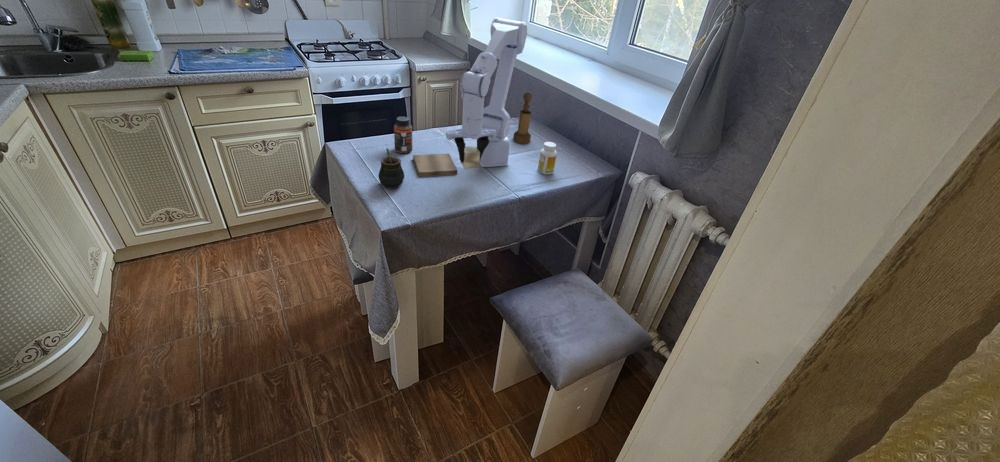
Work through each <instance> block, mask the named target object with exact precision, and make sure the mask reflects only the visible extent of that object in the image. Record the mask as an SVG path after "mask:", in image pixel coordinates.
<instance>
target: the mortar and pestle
mask: <svg viewBox="0 0 1000 462" xmlns="http://www.w3.org/2000/svg"><path fill="white" fill-rule="evenodd" d="M522 98H523V100H524V104H523V109H522V110H520V111H519V118H518V119H519V120H518V125H517V126H518V127H517V130H516V131H515V132H514V133H513V137H512V139H513V141H514V142H516V143H518V144H524V145H525V144H526V145H527V144H529V143H530V142H531V137H532V135H531V134H530V132H529V129H530V128H529V127H530V121H531V117H532V116H531V114H532V112H531V111H529V110H530V107H531V106H530V104H529V103H530V101H531V100H532V98H533V95H532V93H531V92H525V93H524V94H523V97H522Z"/></svg>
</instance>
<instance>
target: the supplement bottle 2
mask: <svg viewBox="0 0 1000 462" xmlns="http://www.w3.org/2000/svg"><path fill="white" fill-rule="evenodd" d="M556 149H557V144H556V143H555V142H552V141H545V142H544V143H543V148H542V149H540V154H539V159H538V165H537V172H539V173H540V174H544V175H551V174H553V173H554V172H555V171H554V170H555V166H556V161H557V156H558V152H557V150H556Z"/></svg>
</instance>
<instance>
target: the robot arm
mask: <svg viewBox="0 0 1000 462" xmlns="http://www.w3.org/2000/svg"><path fill="white" fill-rule="evenodd" d="M527 37H528V25H527V23H526V22H525V21H518V20H512V19H506V18H501V17H498V16H496V17H494V18H493V20H492V22H491V25H490V40H489V43H488V45H487V47H486V50H485V51H483V52H480V53H479V54H478V56H477V57H476V59H475V62H474V63H473V65H472V66H471V67H470V70H469V71H466V72H464V73H463V74H462V76H461V80H460V84H459V89H460V92H461V100H462V101H463V102H462V120H461V121H462V122H461V128H458V129H452V130H446V131H445V137H446V139H447V141H451V140H452V139H453V140H454V143H455V145H456V148H457V151H458V155H459V157H458V158H459V161H460V163H461V162H464V150H465V146H466V143H465V139H471V140H476V147H477V149H478V150H479V152H480V160H479V166H480V167H481V168H489V167H493V168H494V167H505V166H506V167H508V166H509V156H510V140H509V137H508V134H509V132H510V128H511V127H510V126H511V125H510V124H511V116H510V114H509V113H508V111H506V110H507V109H505V106H506V101H507V98H508V93H509V88H510V85H511V80H512V77H513V76H512V75H513V70H514V68H515V63H516V60H517V56H518V55H519V54H522V53H523V50H524V49H525V45H526V41H527ZM498 58H499V61H498V60H497V59H498ZM496 68H497V70H496ZM495 70H496V74H495V78H494V83H493V87H492V92H491V96H490V100H489V105H487V106H486V107H485V96H486V95H487V94H488V91H489V87H490V84H491V77H492V75H493V74H494V72H495Z"/></svg>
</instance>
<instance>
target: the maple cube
mask: <svg viewBox="0 0 1000 462" xmlns="http://www.w3.org/2000/svg"><path fill="white" fill-rule="evenodd" d="M479 160H480V152H479V150H478V149H477V145H469V146H468V145H467V146H466V145H465V150H464V162H461V161H460V164H461V165H462V167H463V169H464V170H466V169H478V168H480V164H479Z"/></svg>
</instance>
